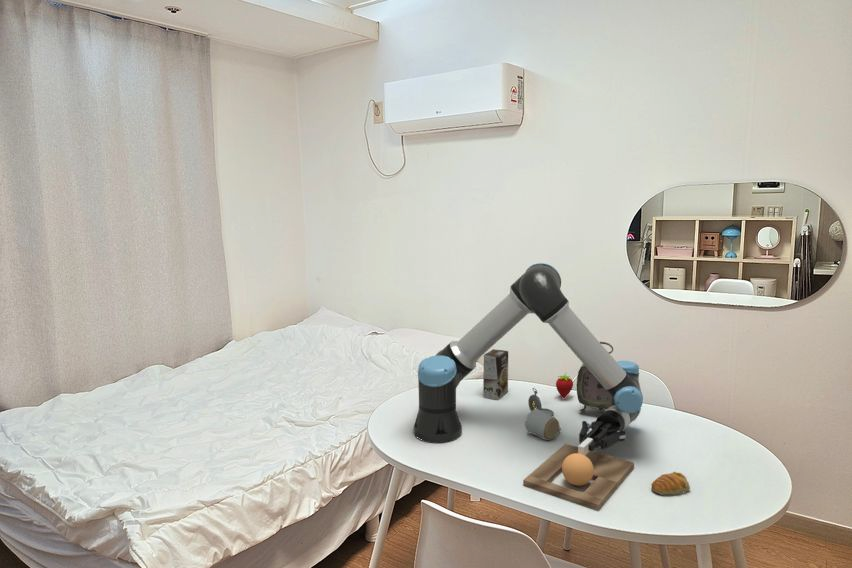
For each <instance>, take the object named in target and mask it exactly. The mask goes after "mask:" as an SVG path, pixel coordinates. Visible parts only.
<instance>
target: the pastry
mask: <svg viewBox="0 0 852 568" xmlns="http://www.w3.org/2000/svg"><path fill="white" fill-rule="evenodd" d="M689 483H690V482H689V481H688V480H687V477H686V475H685V474H683V473H681V472H678V471H677V472H676V471H673V472H669V473H664V474H661V475H660V476H659V477H657V478H656V479H655V480H653V482H652V483H651V491H653V492H654V493H656V494H659V495H660V496H676V495H680V494H679V493H682V494H684V493H683V492H685V493H687V492H689V491H690V490H691V486H690V484H689ZM686 491H687V492H686Z"/></svg>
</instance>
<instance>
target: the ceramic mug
mask: <svg viewBox="0 0 852 568" xmlns="http://www.w3.org/2000/svg"><path fill="white" fill-rule="evenodd" d="M524 424H525V429H526V431H527V432H528V433H529V434H532V435H534V436H537V437H539V438H541V439H544V440H547V441H550V440H553V439H554V438H555V437H557V435H558V434H560V433H561V432H562V431H561V430H562V428H561V427H560V422H559V420H558V419H557V418H556V417H554V415H553V416H551V415H549V414H547V413H545V412H543V411H541V410H539V409H537V408H535V409H534V410H532V411H531V410H530V411H529V413H528V414H527V417H526V419H525V423H524Z"/></svg>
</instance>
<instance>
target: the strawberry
mask: <svg viewBox="0 0 852 568" xmlns="http://www.w3.org/2000/svg"><path fill="white" fill-rule="evenodd" d="M555 387H556V390H557V393H558V394H559V395H560V397H561V398H562V399H566V397H568V395H569V394H570V392H571V391H572V389H573V387H574V381H573V380H572V378H571V376H569V375H568V376H567V372H565V374H563V375H560V376H559V375H558V376H557V380H556V382H555Z"/></svg>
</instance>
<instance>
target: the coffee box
mask: <svg viewBox="0 0 852 568" xmlns="http://www.w3.org/2000/svg"><path fill="white" fill-rule="evenodd" d="M482 379H483V381H482V383H483V384H482V385H483V389H482V391H483V393H482V396H483V398H488V399H493V400H501V398H502V397H504V396H505V395H507V394H508V393H509V350H504V349H503V350H502V349H494V348H493V349H491V350H490V351H487V352H485V353H484V354H483V378H482Z"/></svg>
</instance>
